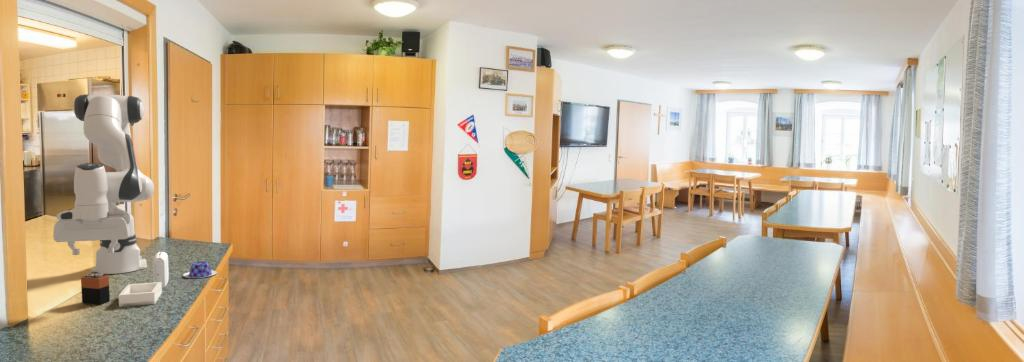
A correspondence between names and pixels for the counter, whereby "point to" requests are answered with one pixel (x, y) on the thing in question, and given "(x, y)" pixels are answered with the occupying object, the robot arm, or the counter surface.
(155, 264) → the photo printer
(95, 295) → the battery
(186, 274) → the pudding
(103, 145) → the robot arm
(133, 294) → the trough
